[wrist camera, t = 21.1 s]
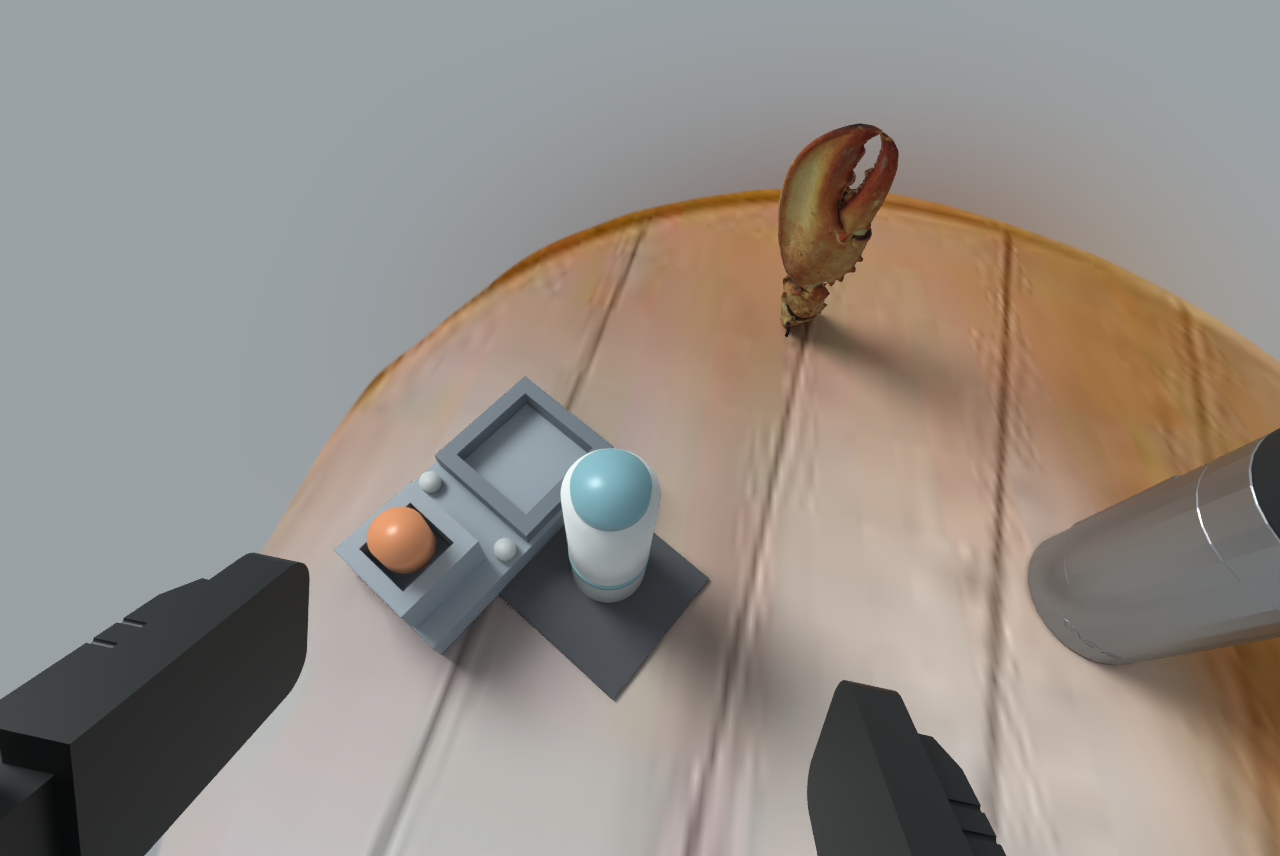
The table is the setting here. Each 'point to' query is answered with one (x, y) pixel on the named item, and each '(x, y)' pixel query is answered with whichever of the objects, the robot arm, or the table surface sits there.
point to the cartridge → (609, 521)
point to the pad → (603, 610)
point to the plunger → (401, 540)
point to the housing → (480, 511)
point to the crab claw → (828, 215)
